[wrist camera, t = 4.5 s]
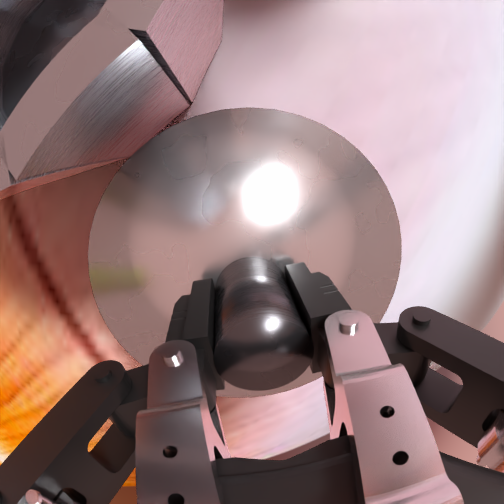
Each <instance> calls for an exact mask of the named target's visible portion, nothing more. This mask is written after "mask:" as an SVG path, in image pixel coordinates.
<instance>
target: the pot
mask: <svg viewBox="0 0 504 504" xmlns="http://www.w3.org/2000/svg"><path fill="white" fill-rule="evenodd" d="M223 5H224V0H0V200H1V199H4V198H6V197H9V196H12V195H14V194H17V193H20V192H23V191H25V190H28V189H31V188H34V187H37V186H40V185H43V184H46V183H49V182H53V181H56V180H59V179H63V178H66V177H69V176H73V175H76V174H78V173H81V172H84V171H87V170H90V169H93V168H96V167H100V166H103V165H106V164H109V163H113V162H116V161H119V160H123V159H126V158H129V157H130V156H131V155H133V154H134V153H135V152H136V151H137V150H138V149H139V148H141V147H142V146H143V145H144V144H145V143H146V142H148V141H149V140H150V139H152V138H153V137H154V136H155V135H156V134H157V133H159V132H160V131H161V130H162V129H163V128H164V127H165V126H167V125H168V124H169V123H170V122H171V121H172V120H173V119H175V118H176V117H177V116H178V115H179V114H181V113H182V112H183V111H184V110H185V109H187V108H188V107H189V106H190V105H189V104H188V102H187V101H189V102H192V103H193V100H194V98H195V96H196V93H197V91H198V89H199V87H200V84H201V82H202V80H203V78H204V76H205V73H206V71H207V69H208V67H209V65H210V63H211V61H212V59H213V57H214V55H215V53H216V51H217V49H218V47H219V45H220V43H221V40H222V26H223Z"/></svg>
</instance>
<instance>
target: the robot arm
mask: <svg viewBox="0 0 504 504" xmlns="http://www.w3.org/2000/svg"><path fill="white" fill-rule="evenodd" d="M285 279H286V281H287V283H288V285H289V288H290V290H291V292H292V295H293V297H294V299H295V301H296V304H297V306H298V308H299V311H300V313H301V315H302V318H303V320H304V322H305V325H306V327H307V329H308V332H309V334H310V337H311V339H312V342H313V345H314V354H313V358H312V361H311V363H310V365H309V366H310V369H311V371H312V374H313V373H317V372H322V375H323V377H324V383H323V388H324V395H325V401H326V408H327V415H328V422H329V429H330V440H328V441H326V442H324V443H322V444H320V445H318V446H316V447H314V448H311V449H309V450H307V451H305V452H303V453H301V454H298V455H296V456H294V457H292V458H289V459H287V460H280V461H278V460H259V459H247V458H237V457H235V458H231V456H230V453H229V450H228V446H227V442H226V438H225V434H224V430H223V426H222V422H221V418H220V414H219V409H218V406H217V403H216V390H223V389H225V380H224V379H223V378H222V377H221V376H220V375H219V374H218V372H217V370H216V368H215V365H214V325H215V294H216V290H215V286H214V282H213V279H212V278H209V279H203V280H197V281H193V283H192V288H191V294H189V295H182V296H181V297H180V298H179V299H178V301H177V302H176V303H175V305H174V308H173V314H172V316H171V321H170V324H169V328H168V332H167V336H166V341H165V343H163V344H161V345H160V346H158V347H157V348H156V349H155V350H154V351H153V352H152V353H151V355H150V358H149V363H148V364H146V365H144V366H141V367H138V368H134V369H131V370H128V371H126V370H125V369H124V367H123V365H122V364H121V363H119V362H117V361H113V360H108V361H103V362H100V363H98V364H96V365H95V366H93V367H92V368H91V369H90V370H89V371H88V372H87V373H86V374H85V375H84V376H83V377H82V378H81V379H80V380H79V381H78V382H77V383H76V384H75V385H74V386H73V387H72V388H71V389H70V390H69V391H68V392H67V393H66V394H65V395H64V396H63V397H62V399H61V400H60V401H59V402H58V403H57V404H56V405H55V406H54V407H53V408H52V409H51V410H50V411H49V412H48V413H47V414H46V415H45V417H44V418H43V419H42V420H41V421H40V422H39V423H38V424H37V425H36V426H35V427H34V428H33V430H32V431H31V432H30V433H29V434H28V435H27V436H26V437H25V438H24V439H23V441H22V442H21V443H20V444H19V445H18V446H17V447H16V448H15V450H14V451H13V452H12V453H11V454H10V455H9V456H8V457H7V459H6V460H5V461H4V462H3V463H2V464H1V466H0V504H109V503H110V502H111V500H112V499H113V498H114V496H115V495H116V493H117V492H118V491H119V489H120V488H121V486H122V485H123V484H124V482H125V481H126V479H127V478H128V477H129V475H130V474H131V472H132V471H133V469H134V468H135V467H136V489H137V504H504V343H503V342H501V341H498V340H496V339H494V338H492V337H490V336H488V335H486V334H484V333H482V332H480V331H478V330H475V329H473V328H471V327H469V326H467V325H465V324H463V323H460V322H458V321H456V320H454V319H452V318H450V317H448V316H445V315H443V314H441V313H439V312H437V311H434V310H432V309H430V308H427V307H420V306H417V307H410V308H408V309H405V310H404V311H403V312H402V313H401V314H400V317H399V322H397V323H373V322H372V320H371V318H370V317H369V316H368V315H366V314H365V313H363V312H360V311H357V310H352V309H351V307H350V306H349V304H348V303H347V301H346V300H345V299H344V297H343V296H342V294H341V293H340V292H339V291H338V289H337V287H336V286H335V285H334V283H333V282H332V281H331V279H330V278H329V277H328V276H326V275H325V274H323V273H321V272H315V273H311V272H310V271H309V269H308V268H307V266H306V264H305V263H304V262H300V263H295V264H289V265H285ZM431 360H432V361H433V362H435V363H437V364H439V365H441V366H442V367H444V368H446V369H448V370H450V371H452V372H453V373H455V374H457V375H458V376H459V377H460V378H461V379H462V381H463V385H459V384H457V383H455V382H453V381H452V380H450V379H448V378H446V377H445V376H443V375H441V374H439V373H437V372H436V371H434V370H432V369H430V368H429V366H430V363H431ZM426 416H427V417H428V418H430V419H431V420H433V421H434V422H436V423H437V424H439V425H440V426H442V427H444V428H445V429H447V430H448V431H450V432H452V433H453V434H455V435H457V436H458V437H460V438H461V439H463V440H465V441H466V442H468V443H470V444H472V445H473V446H475V447H476V448H478V456H477V463H478V465H476V464H473V463H469V462H466V461H464V460H461V459H458V458H455V457H453V456H450V455H447V454H445V453H442V452H439V451H438V448H437V445H436V442H435V439H434V437H433V434H432V431H431V428H430V426H429V423H428V420H427V418H426ZM108 418H109V419H110V420H111V421H112V422H113V424H112V426H111V427H110V428H109V429H108V431H107V432H106V433H105V434H104V436H103V437H102V438H101V439H100V441H99V442H98V443H97V444H96V446H95V447H94V448H93V449H92V450H91V451H90V452H88V443H89V442H90V440H91V439H92V438H93V436H94V435H95V434H96V433H97V432H98V430H99V429H100V428H101V427H102V425H103V424H104V423H105V422H106V421H107V419H108ZM479 465H480V466H479ZM486 465H487V466H488V467H489V468H485V467H482V466H486Z"/></svg>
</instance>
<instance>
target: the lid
mask: <svg viewBox="0 0 504 504" xmlns="http://www.w3.org/2000/svg"><path fill="white" fill-rule="evenodd" d="M300 262H304V263H305V264H306V266H307V268H308V269H309V271H310V272H311V273H315V272H321V273H323V274H325V275H326V276H328V277H329V278H330V279H331V281H332V282H333V283H334V285H335V286H336V287H337V289H338V291H339V292H340V293H341V294H342V296H343V297H344V299H345V300H346V301H347V303H348V304H349V306H350V307H351V309H352V310H357V311H360V312H363V313H365V314H366V315H368V316H369V317H370V318H371V320H372V322H373V323H380V321H381V319H382V318H383V316H384V314H385V312H386V311H387V308H388V306H389V304H390V301H391V299H392V297H393V294H394V291H395V288H396V284H397V281H398V277H399V271H400V264H401V233H400V225H399V220H398V216H397V213H396V209H395V205H394V203H393V200H392V198H391V196H390V193H389V191H388V189H387V187H386V185H385V183H384V181H383V180H382V178H381V177H380V175H379V174H378V172H377V170H376V169H375V168H374V166H373V165H372V164H371V163H370V162H369V161H368V159H367V158H366V157H365V156H364V155H363V154H362V153H361V152H360V151H359V150H358V149H357V148H356V147H355V146H353V145H352V144H351V143H350V142H349V141H347V140H346V139H345V138H344V137H342V136H341V135H339V134H338V133H336V132H334V131H333V130H331V129H329V128H328V127H326V126H324V125H322V124H320V123H318V122H315V121H313V120H310V119H308V118H305V117H303V116H300V115H297V114H292V113H288V112H284V111H279V110H275V109H263V108H236V109H225V110H219V111H214V112H210V113H206V114H202V115H198V116H195V117H193V118H190V119H188V120H185V121H183V122H180V123H178V124H176V125H173V126H171V127H170V128H168V129H166V130H165V131H163V132H161V133H160V134H158V135H157V136H155V137H153V138H152V139H150V140H149V141H148V142H146V143H145V144H144V145H143V146H142V147H141V148H139V149H138V150H137V151H136V152H135V153H134V154H133V155H131V156H130V157H129V159H128V160H127V161H126V162H125V163H124V164H123V166H122V167H121V168H120V169H119V170H118V172H117V173H116V174H115V175H114V177H113V179H112V180H111V182H110V183H109V185H108V187H107V188H106V190H105V192H104V193H103V195H102V198H101V200H100V203H99V205H98V207H97V210H96V212H95V215H94V219H93V223H92V227H91V231H90V236H89V247H88V267H89V277H90V282H91V287H92V291H93V295H94V298H95V301H96V304H97V306H98V309H99V312H100V313H101V315H102V317H103V319H104V321H105V323H106V325H107V327H108V328H109V330H110V331H111V333H112V334H113V335H114V337H115V338H116V340H117V341H118V342H119V343H120V344H121V346H122V347H123V348H124V349H125V350H126V351H127V352H128V353H129V354H130V355H131V356H132V357H133V358H134V359H135V360H137V361H138V362H139V363H140V364H141V365H143V366H144V365H146V364H148V363H149V358H150V355H151V353H152V352H153V351H154V350H155V349H156V348H157V347H158V346H160V345H161V344H163V343H165V341H166V336H167V332H168V328H169V324H170V321H171V316H172V314H173V308H174V305H175V303H176V302H177V301H178V299H179V298H180V297H181V296H182V295H189V294H191V288H192V283H193V281H197V280H203V279H209V278H212V279H213V282H214V286H215V290H216V294H215V325H214V365H215V368H216V370H217V372H218V374H219V375H220V376H221V377H222V378H223V379H224V380H225V389H223V390H216V396H220V397H235V398H241V397H258V396H266V395H272V394H276V393H281V392H285V391H288V390H291V389H294V388H297V387H300V386H303V385H305V384H307V383H310V382H312V381H314V380H316V379H318V378H320V377H322V376H323V375H322V372H317V373H313V374H312V371H311V369H310V366H309V365H310V363H311V361H312V358H313V354H314V345H313V342H312V339H311V337H310V334H309V332H308V329H307V327H306V325H305V322H304V320H303V318H302V315H301V313H300V311H299V308H298V306H297V304H296V301H295V299H294V297H293V295H292V292H291V290H290V288H289V285H288V283H287V281H286V279H285V265H289V264H295V263H300Z"/></svg>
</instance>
